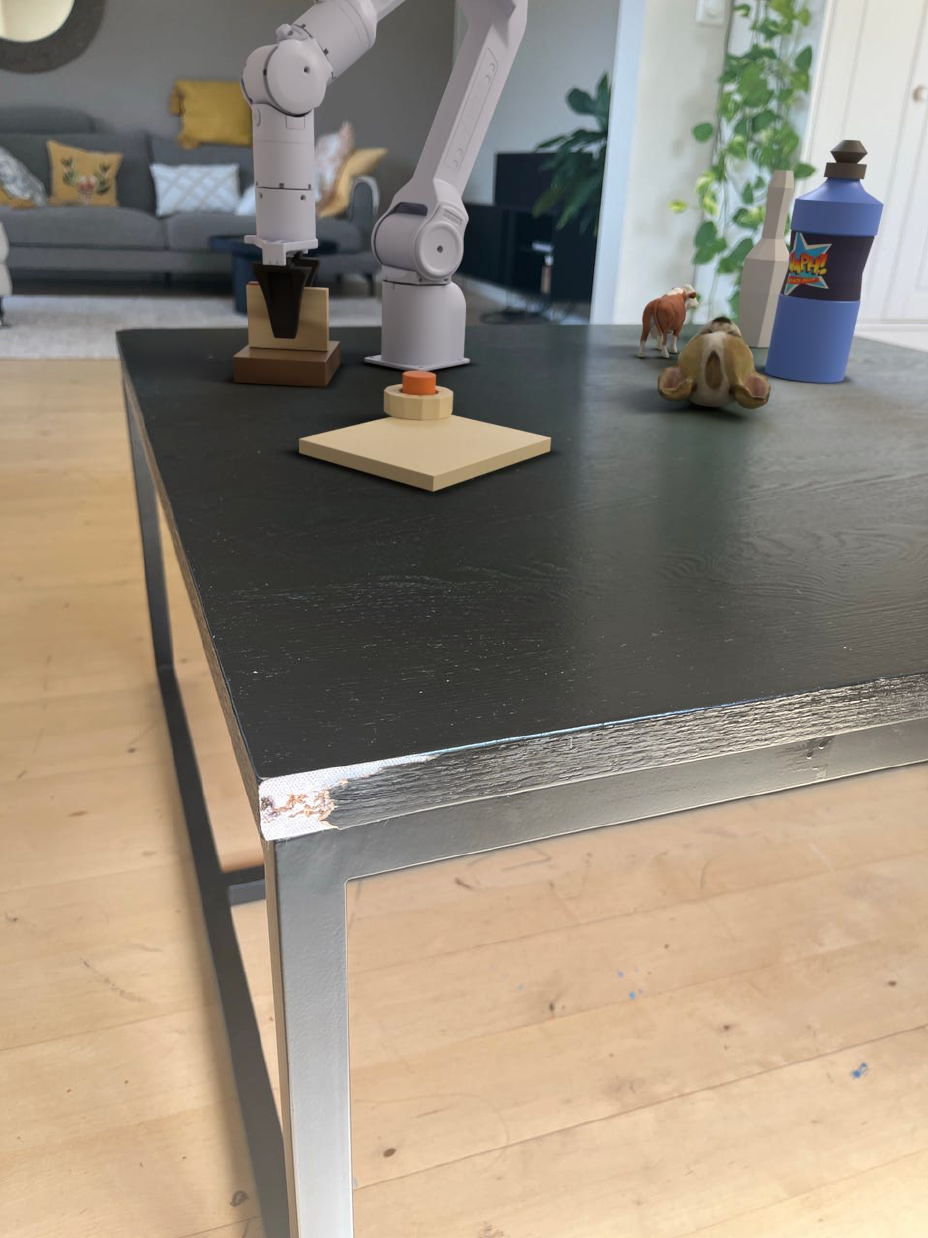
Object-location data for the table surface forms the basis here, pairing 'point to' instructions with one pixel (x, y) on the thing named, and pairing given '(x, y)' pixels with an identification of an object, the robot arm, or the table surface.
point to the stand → (286, 366)
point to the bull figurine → (667, 318)
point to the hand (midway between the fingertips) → (288, 334)
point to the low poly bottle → (766, 266)
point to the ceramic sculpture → (715, 370)
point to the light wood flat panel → (310, 321)
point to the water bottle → (825, 273)
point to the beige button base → (424, 443)
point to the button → (418, 383)
